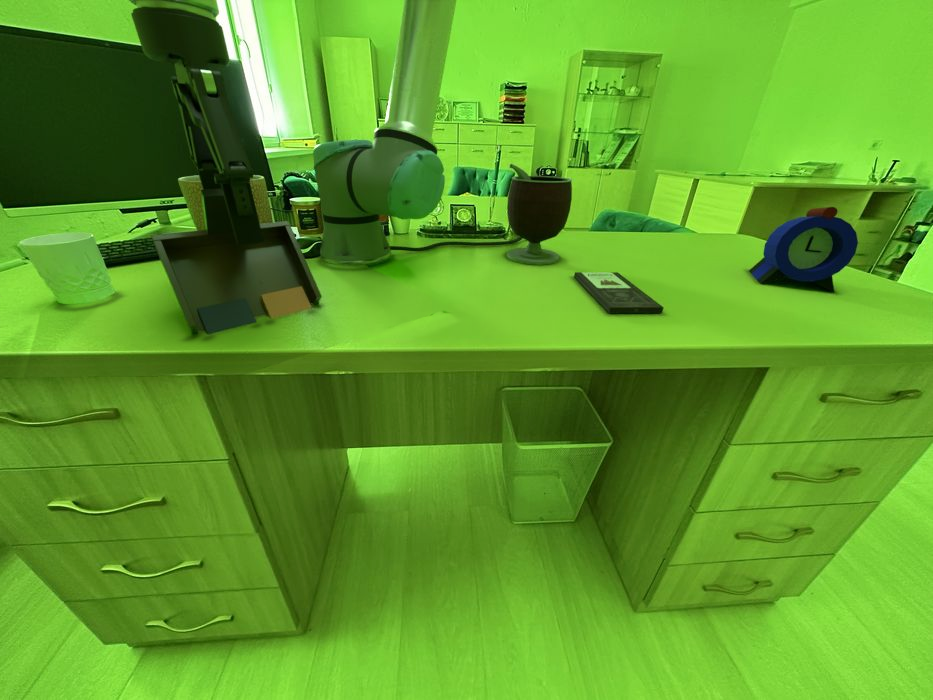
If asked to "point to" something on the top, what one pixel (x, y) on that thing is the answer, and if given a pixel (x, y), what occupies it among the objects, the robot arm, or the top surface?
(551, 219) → the mate gourd
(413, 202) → the robot arm
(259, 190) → the planter
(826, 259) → the alarm clock
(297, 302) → the block
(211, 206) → the dustpan
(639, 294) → the chocolate bar
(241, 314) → the block
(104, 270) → the white cup
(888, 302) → the top surface
